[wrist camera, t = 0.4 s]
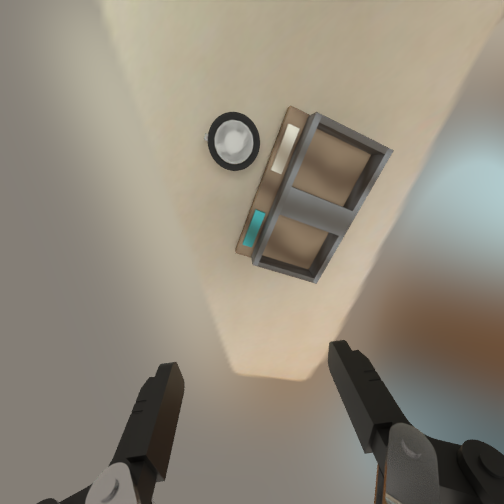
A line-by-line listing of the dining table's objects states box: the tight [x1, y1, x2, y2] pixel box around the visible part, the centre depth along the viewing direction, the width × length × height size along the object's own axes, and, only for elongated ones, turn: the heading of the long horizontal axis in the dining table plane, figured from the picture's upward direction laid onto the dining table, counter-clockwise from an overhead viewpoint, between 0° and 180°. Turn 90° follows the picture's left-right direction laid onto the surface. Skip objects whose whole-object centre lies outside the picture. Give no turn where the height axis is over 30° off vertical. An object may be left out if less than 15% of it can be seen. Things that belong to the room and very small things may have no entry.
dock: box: [236, 106, 394, 284], centre depth 32 cm, size 22×15×4 cm
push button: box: [204, 112, 260, 171], centre depth 25 cm, size 7×5×10 cm
